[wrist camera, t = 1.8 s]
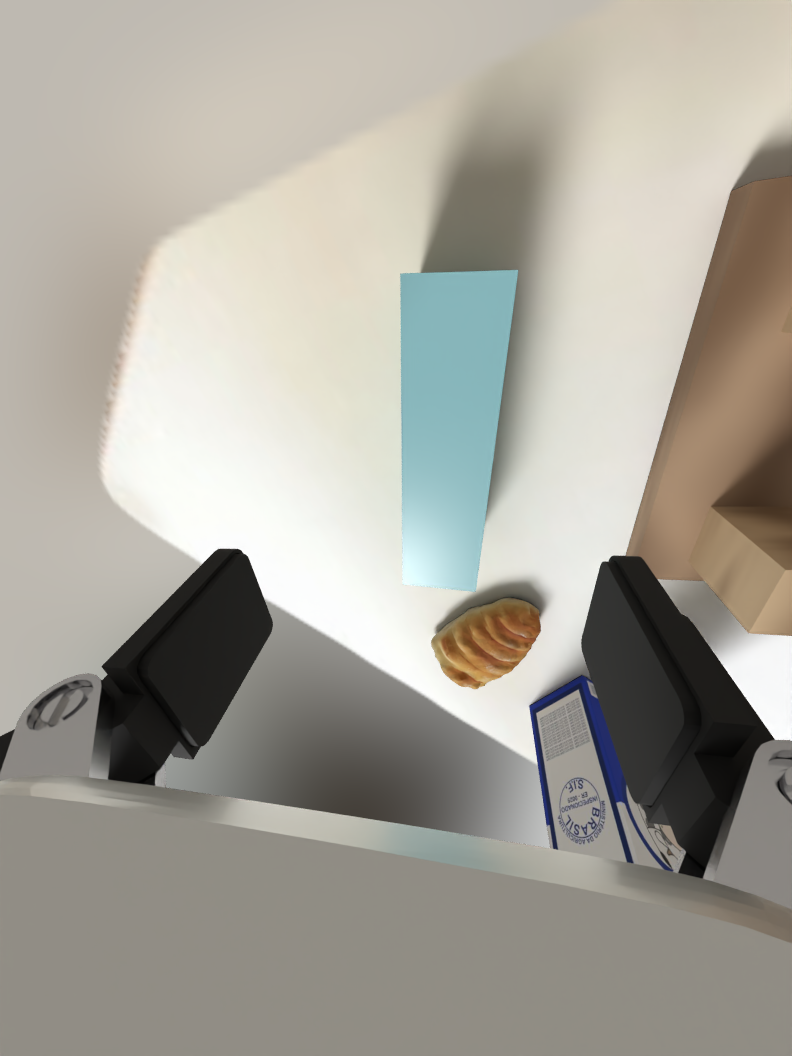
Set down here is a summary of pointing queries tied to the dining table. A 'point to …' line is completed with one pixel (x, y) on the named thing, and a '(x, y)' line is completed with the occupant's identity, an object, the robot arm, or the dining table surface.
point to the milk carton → (591, 784)
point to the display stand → (732, 425)
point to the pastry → (486, 641)
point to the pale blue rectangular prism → (450, 417)
